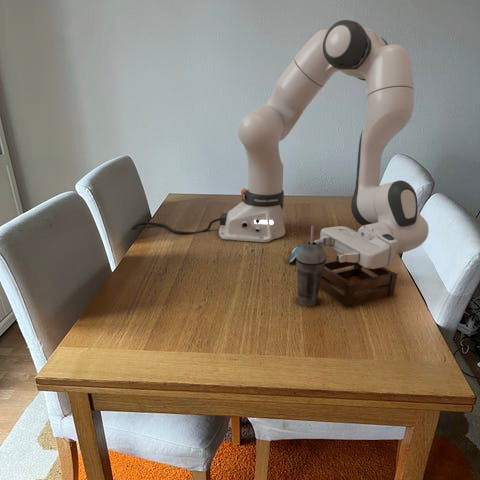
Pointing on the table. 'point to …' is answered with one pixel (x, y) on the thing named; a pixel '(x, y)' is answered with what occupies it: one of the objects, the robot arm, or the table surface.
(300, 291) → the beverage cup
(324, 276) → the crate
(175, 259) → the table surface
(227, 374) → the table surface
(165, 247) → the table surface
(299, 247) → the decorative butterfly
